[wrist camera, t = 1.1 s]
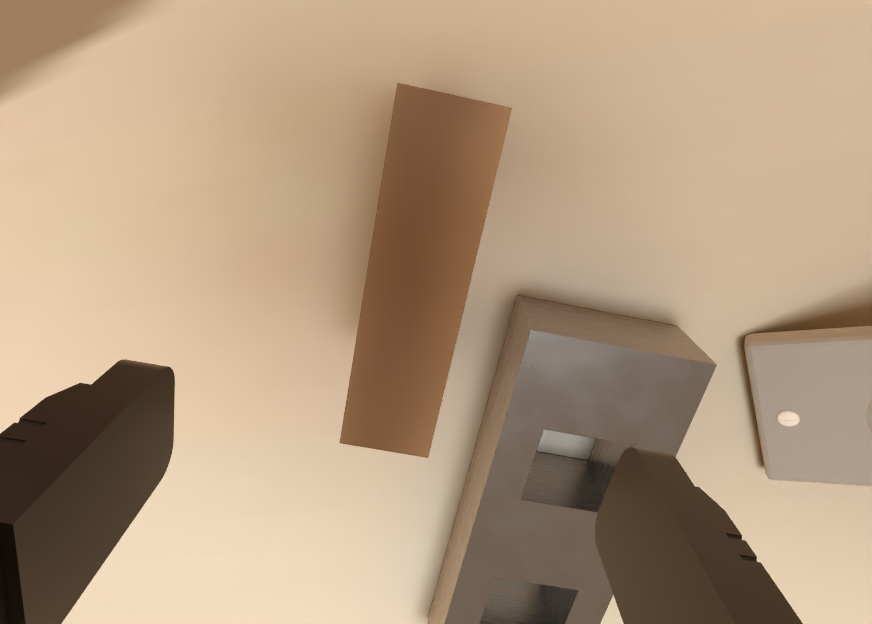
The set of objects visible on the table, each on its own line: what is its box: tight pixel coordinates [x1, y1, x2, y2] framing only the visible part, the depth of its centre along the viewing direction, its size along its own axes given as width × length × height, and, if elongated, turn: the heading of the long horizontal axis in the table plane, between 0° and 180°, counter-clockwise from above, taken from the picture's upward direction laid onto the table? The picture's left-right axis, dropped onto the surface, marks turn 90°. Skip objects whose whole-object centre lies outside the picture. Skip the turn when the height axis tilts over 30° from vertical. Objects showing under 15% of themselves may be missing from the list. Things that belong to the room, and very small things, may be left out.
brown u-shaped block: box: [340, 83, 512, 458], centre depth 21 cm, size 3×12×8 cm, turn 169°
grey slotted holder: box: [428, 295, 717, 624], centre depth 28 cm, size 8×22×4 cm, turn 169°
